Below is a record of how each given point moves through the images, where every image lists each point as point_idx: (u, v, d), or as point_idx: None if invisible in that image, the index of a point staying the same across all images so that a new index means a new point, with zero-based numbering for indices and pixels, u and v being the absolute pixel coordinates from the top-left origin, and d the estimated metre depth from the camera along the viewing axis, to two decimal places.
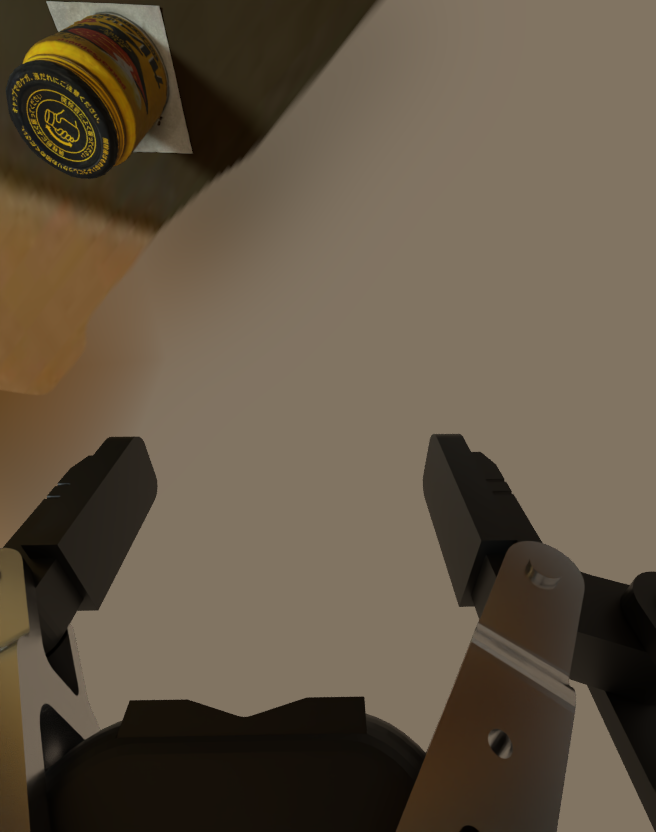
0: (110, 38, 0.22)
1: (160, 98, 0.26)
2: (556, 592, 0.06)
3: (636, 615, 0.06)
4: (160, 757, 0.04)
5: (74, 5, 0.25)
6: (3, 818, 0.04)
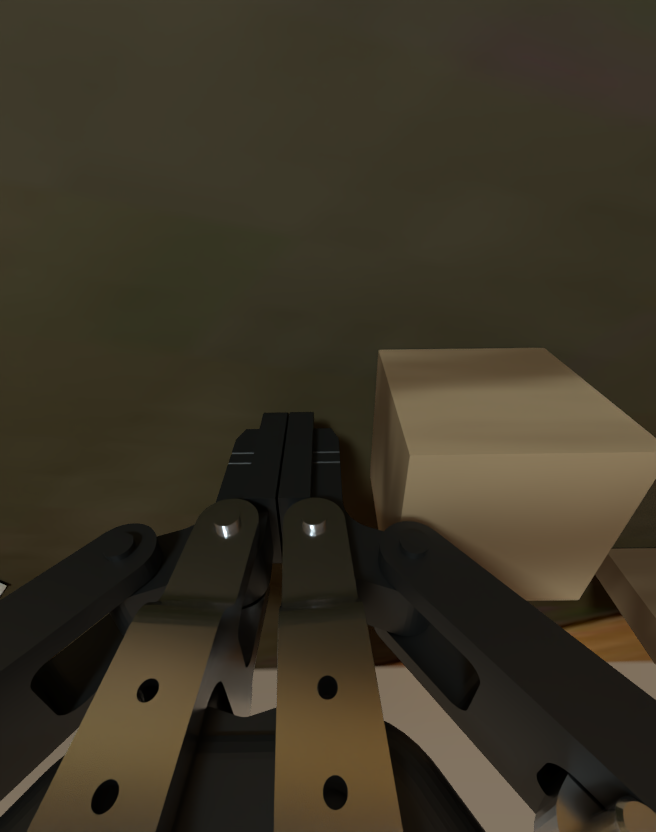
0: None
1: None
2: (314, 536, 0.07)
3: (391, 575, 0.06)
4: None
5: None
6: (143, 805, 0.04)
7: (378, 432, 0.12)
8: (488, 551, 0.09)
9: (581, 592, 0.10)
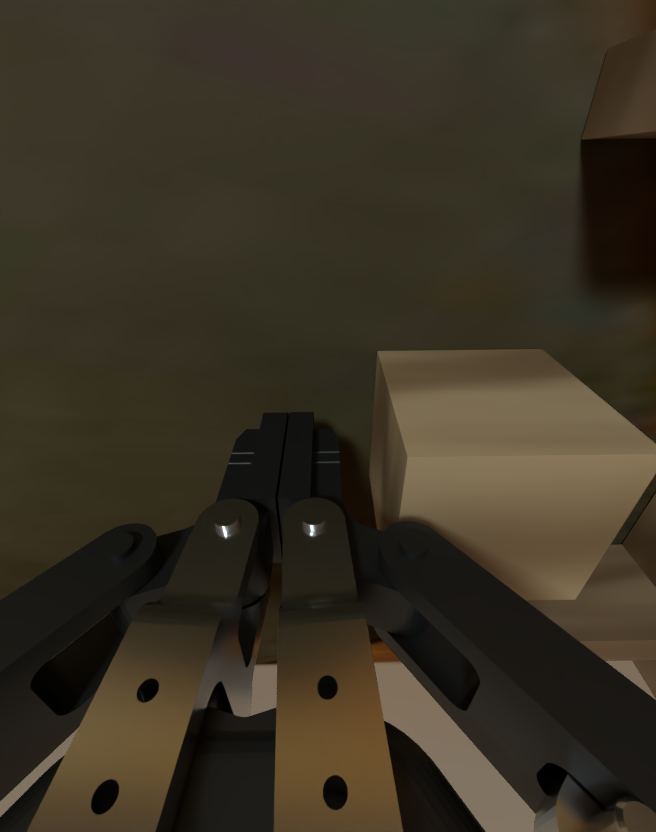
0: None
1: None
2: (313, 536, 0.07)
3: (391, 575, 0.06)
4: None
5: None
6: (143, 806, 0.04)
7: (377, 433, 0.12)
8: (485, 551, 0.09)
9: (578, 592, 0.10)
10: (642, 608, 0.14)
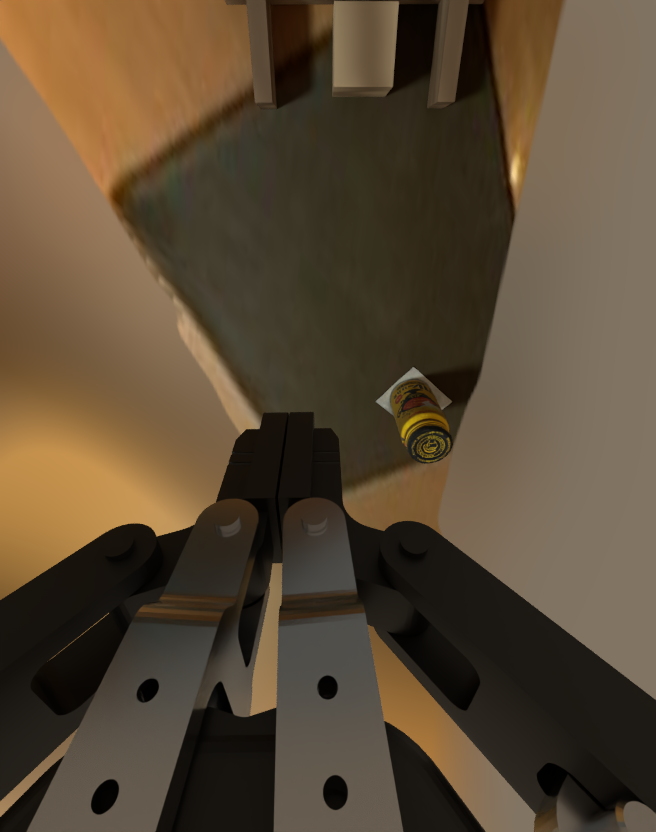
0: (415, 397, 0.48)
1: (435, 397, 0.50)
2: (314, 536, 0.07)
3: (392, 575, 0.06)
4: None
5: (385, 393, 0.53)
6: (143, 806, 0.04)
7: (356, 94, 0.35)
8: (369, 51, 0.30)
9: (394, 2, 0.29)
10: (445, 10, 0.30)
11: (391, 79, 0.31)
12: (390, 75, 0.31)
